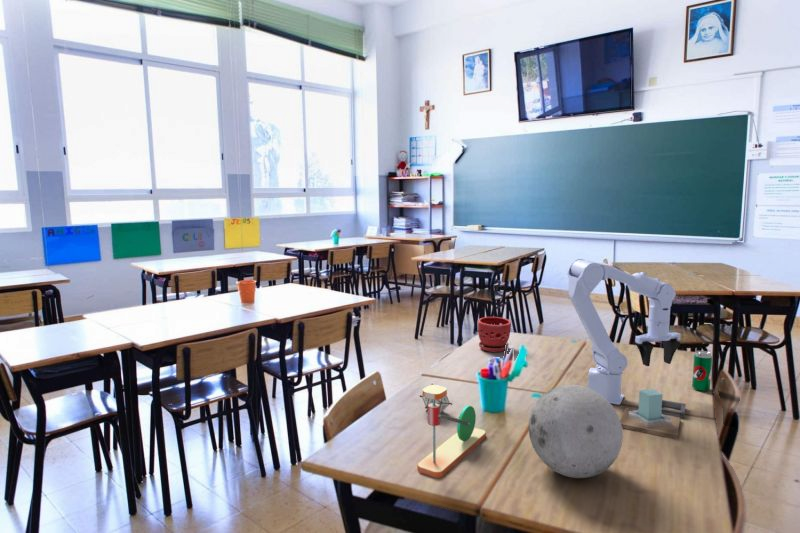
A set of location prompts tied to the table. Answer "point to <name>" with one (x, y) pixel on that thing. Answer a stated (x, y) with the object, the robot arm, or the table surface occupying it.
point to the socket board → (654, 430)
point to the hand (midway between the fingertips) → (656, 364)
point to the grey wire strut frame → (437, 402)
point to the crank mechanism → (455, 445)
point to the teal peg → (650, 404)
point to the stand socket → (673, 412)
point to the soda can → (702, 371)
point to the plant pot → (493, 333)
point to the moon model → (575, 431)
